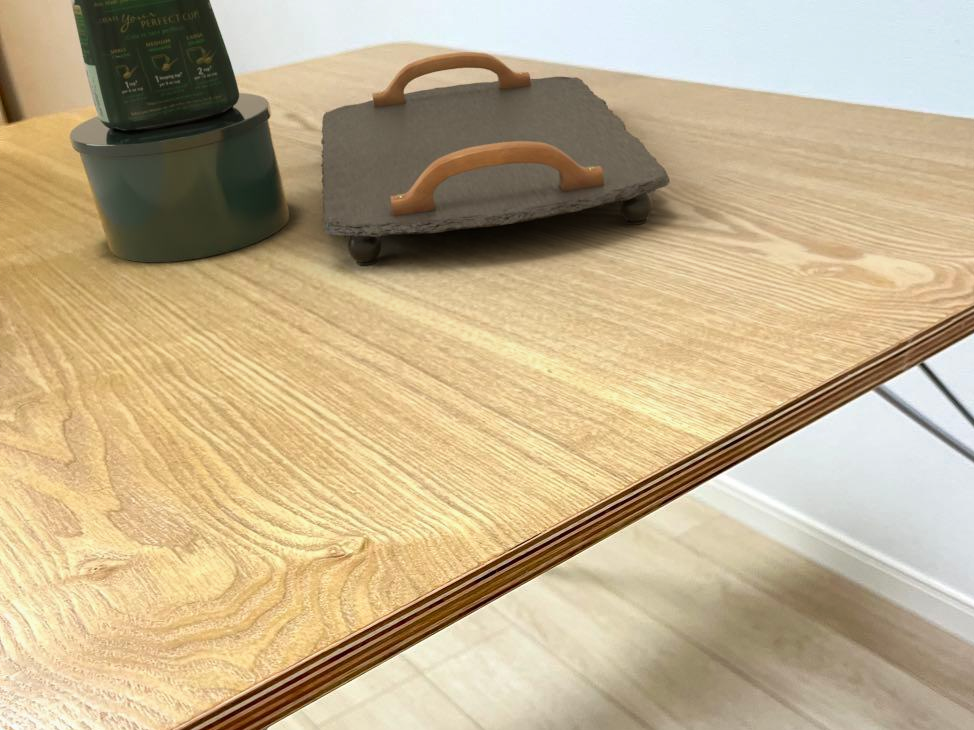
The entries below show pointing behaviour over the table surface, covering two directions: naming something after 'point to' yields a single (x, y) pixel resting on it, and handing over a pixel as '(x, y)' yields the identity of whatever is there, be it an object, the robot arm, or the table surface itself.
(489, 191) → the serving tray
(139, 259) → the canister
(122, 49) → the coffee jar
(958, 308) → the table surface
